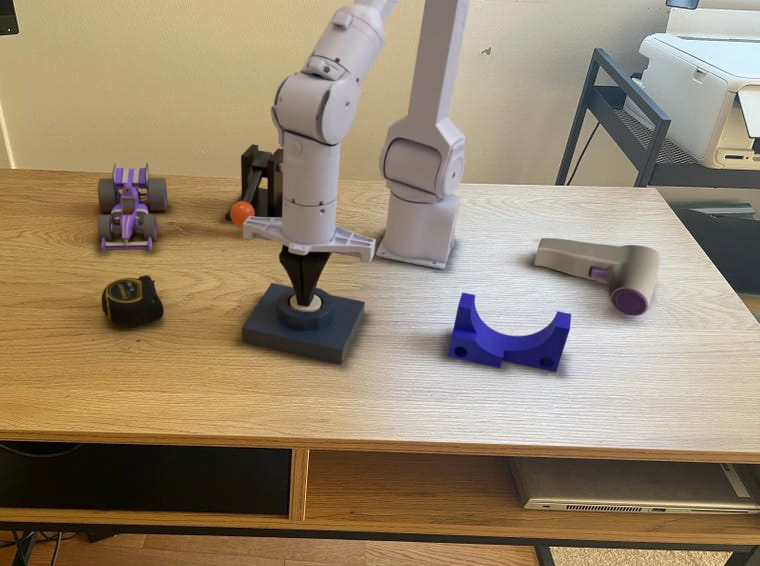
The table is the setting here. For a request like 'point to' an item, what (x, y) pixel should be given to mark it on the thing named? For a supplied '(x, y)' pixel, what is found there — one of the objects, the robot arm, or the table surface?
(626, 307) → the infrared thermometer
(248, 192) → the lever
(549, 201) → the table surface
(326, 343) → the control block
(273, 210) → the bracket
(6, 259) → the table surface
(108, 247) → the toy race car
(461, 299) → the blue semicircular cradle
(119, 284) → the tape measure
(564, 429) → the table surface
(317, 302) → the button
